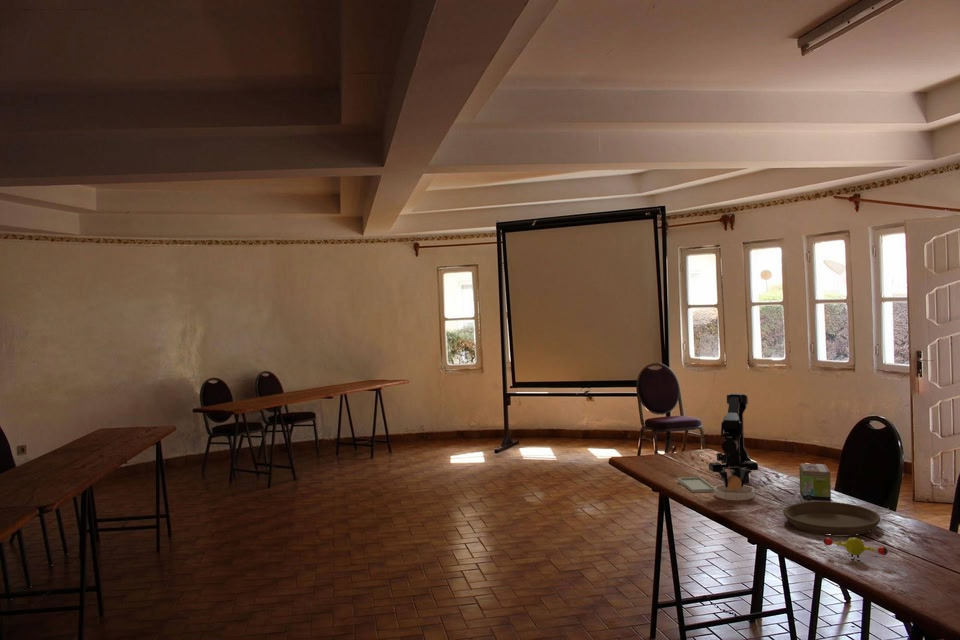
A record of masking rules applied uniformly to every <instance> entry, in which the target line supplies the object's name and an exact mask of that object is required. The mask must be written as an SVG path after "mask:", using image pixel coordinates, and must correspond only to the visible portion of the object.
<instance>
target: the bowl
mask: <svg viewBox="0 0 960 640" xmlns="http://www.w3.org/2000/svg"><path fill="white" fill-rule="evenodd" d="M713 487H714V492H713V496H714V497H716V498H719V499H723V500H726V501H727V500H728V501H747V500H752V499H754V498H755V496H756V488H754V487H753V486H749V485H745V484H744V485H743V487H740V488H739V489H738V490H731V489H729V488H728V487H727V488H726V487H725V484H724V483H722V484H718V485H715V486H713Z"/></svg>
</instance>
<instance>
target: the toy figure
mask: <svg viewBox="0 0 960 640" xmlns="http://www.w3.org/2000/svg"><path fill="white" fill-rule="evenodd" d="M823 544H824V545H825V546H832V545H833V544H836V545H837V547H838V546H840V547H841V546H842V547H844V548H845V550H846V551H847V552H848V553H849V554H850V557H854V556H856V559H857V558H860V555H862V554H863V553H864V552H865V551H870V552H874V551H877V552H878V554H879V555H881V556H887V555H888V552H889V551H888V549H887V547H885V546H880V547H878V548H877V549H876V548H874V547H872V546H866V545H865V544H866V541H865V540H863V539H860V538H858V537H856V536H851V537H849V538H848V539H847V540H846V541H845V542H841V541H833V539H832V538H830V537H825V538H824V539H823Z"/></svg>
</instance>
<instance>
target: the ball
mask: <svg viewBox="0 0 960 640" xmlns="http://www.w3.org/2000/svg"><path fill="white" fill-rule="evenodd" d="M727 482H728V486H727V487H728V488H729V489H731V490H738V489H739V488H740V487H741V485H742V482H741V480H740V478H739V477H737V476H731V475H730V476H727Z"/></svg>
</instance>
